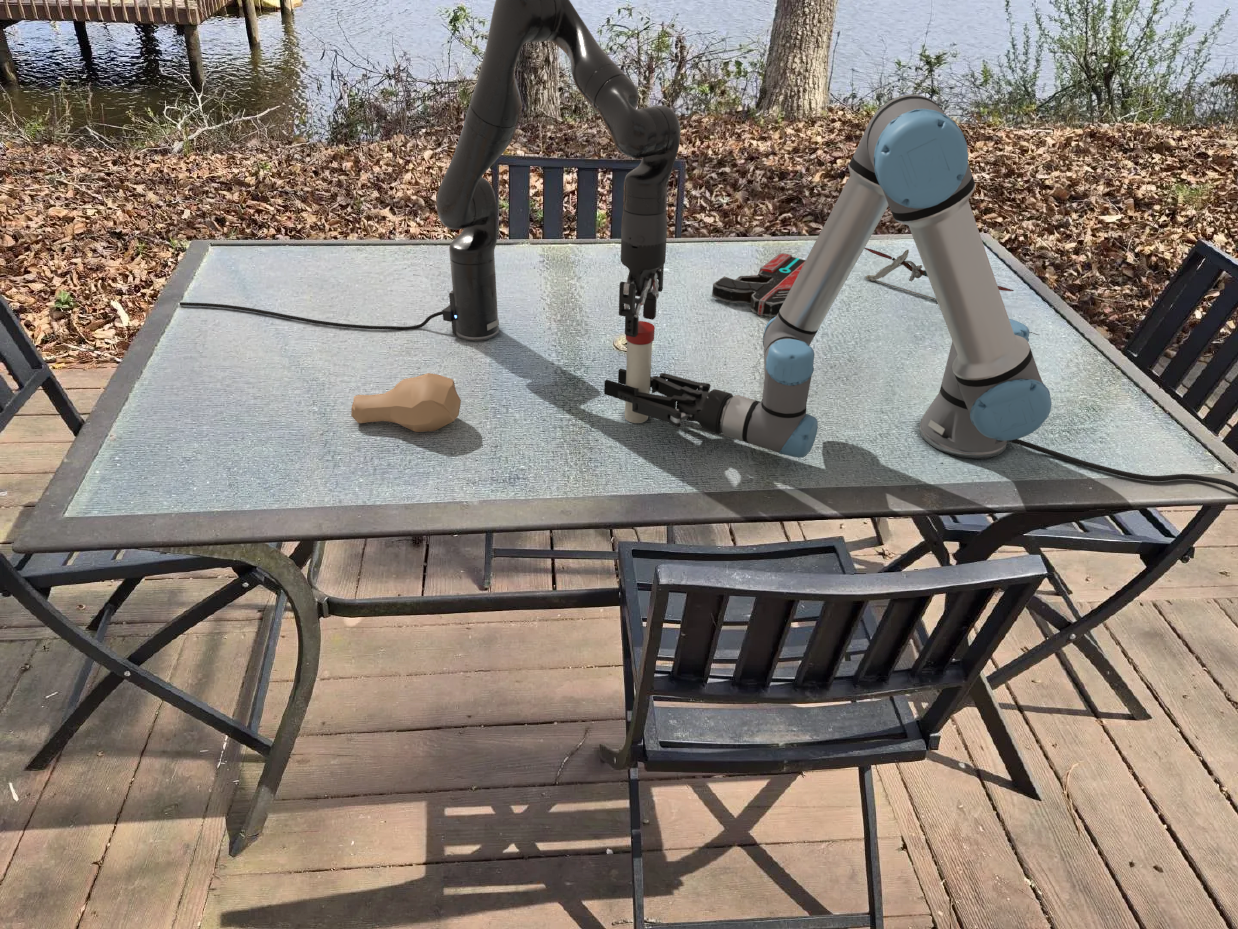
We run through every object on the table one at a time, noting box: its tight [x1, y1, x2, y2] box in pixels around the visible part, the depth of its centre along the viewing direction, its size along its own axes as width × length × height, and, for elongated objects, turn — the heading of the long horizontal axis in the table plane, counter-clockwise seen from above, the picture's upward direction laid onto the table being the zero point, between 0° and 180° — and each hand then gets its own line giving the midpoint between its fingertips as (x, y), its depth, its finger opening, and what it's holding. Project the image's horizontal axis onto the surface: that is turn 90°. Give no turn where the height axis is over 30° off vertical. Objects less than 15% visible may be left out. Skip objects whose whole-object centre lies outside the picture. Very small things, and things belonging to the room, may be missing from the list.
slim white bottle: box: [624, 340, 653, 424], centre depth 159 cm, size 4×4×18 cm
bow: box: [864, 247, 1015, 301], centre depth 212 cm, size 39×2×10 cm, turn 47°
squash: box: [350, 372, 462, 433], centre depth 158 cm, size 11×20×9 cm, turn 90°
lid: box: [625, 320, 656, 345], centre depth 154 cm, size 5×5×2 cm
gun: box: [711, 252, 806, 318], centre depth 215 cm, size 4×31×19 cm
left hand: (640, 326), depth 154 cm, fingers open, 7 cm apart
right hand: (612, 381), depth 163 cm, fingers closed on slim white bottle, 4 cm apart
